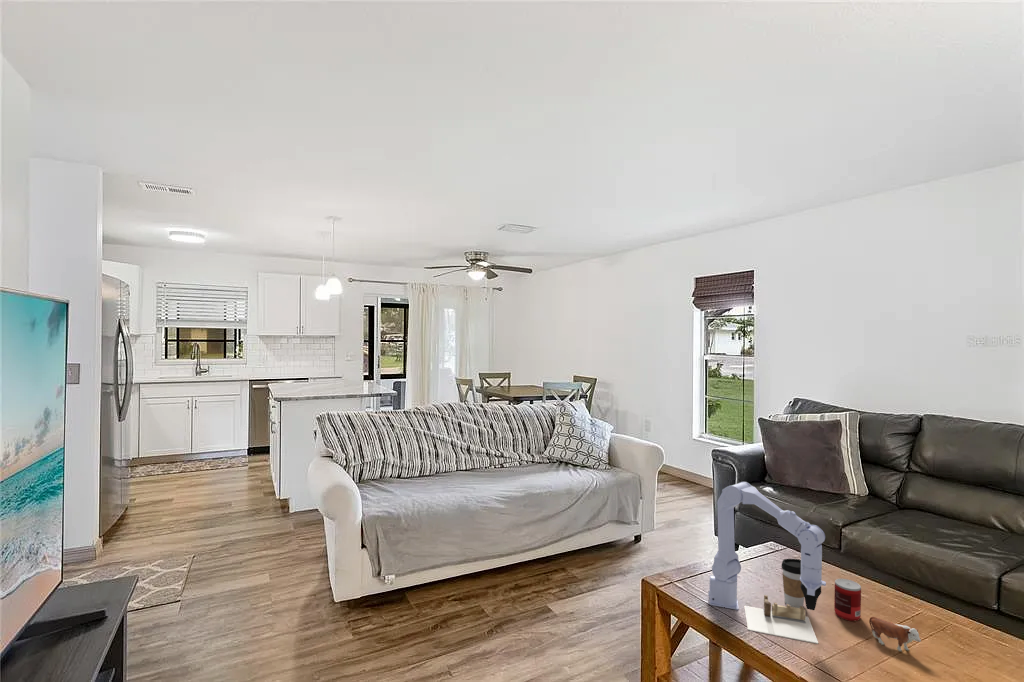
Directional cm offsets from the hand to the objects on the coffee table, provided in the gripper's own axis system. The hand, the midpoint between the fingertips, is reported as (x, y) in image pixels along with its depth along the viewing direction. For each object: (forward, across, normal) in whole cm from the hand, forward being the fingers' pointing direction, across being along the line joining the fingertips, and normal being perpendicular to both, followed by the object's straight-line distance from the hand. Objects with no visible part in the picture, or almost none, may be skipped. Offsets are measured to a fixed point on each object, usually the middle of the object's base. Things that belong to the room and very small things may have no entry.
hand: (810, 608), depth 161 cm
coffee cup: (+10, +23, +5) cm, 26 cm away
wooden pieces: (+10, +11, +13) cm, 20 cm away
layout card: (+10, +5, +9) cm, 14 cm away
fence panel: (+9, +11, +6) cm, 15 cm away
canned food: (+10, +24, -11) cm, 28 cm away
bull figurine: (+10, +10, -23) cm, 27 cm away
